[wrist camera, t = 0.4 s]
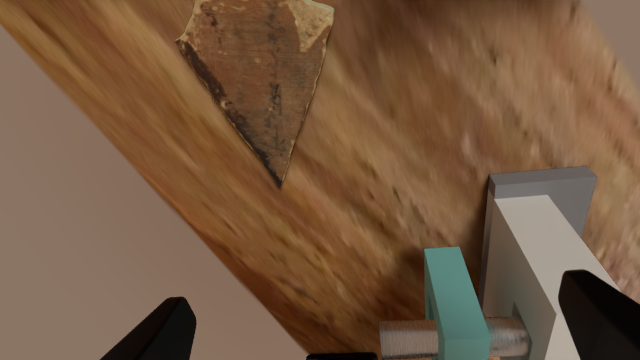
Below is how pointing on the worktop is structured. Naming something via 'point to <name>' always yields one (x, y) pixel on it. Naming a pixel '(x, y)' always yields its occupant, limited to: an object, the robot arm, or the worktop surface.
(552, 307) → the bracket
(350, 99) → the worktop surface
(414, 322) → the shaft
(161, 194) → the worktop surface
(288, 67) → the shard
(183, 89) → the worktop surface
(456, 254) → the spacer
